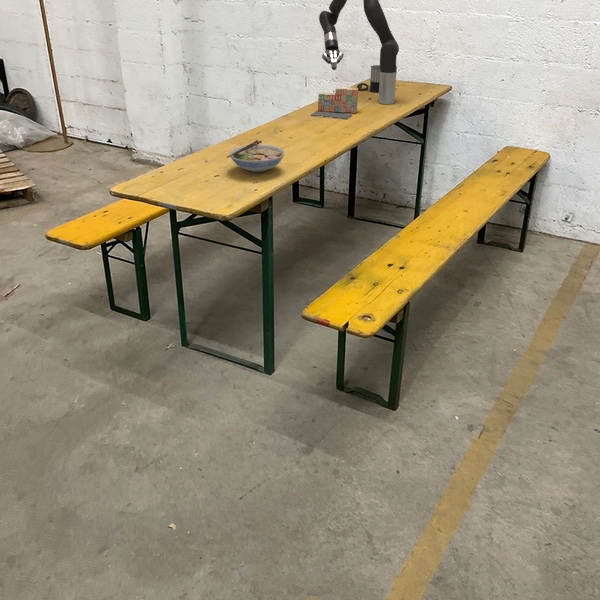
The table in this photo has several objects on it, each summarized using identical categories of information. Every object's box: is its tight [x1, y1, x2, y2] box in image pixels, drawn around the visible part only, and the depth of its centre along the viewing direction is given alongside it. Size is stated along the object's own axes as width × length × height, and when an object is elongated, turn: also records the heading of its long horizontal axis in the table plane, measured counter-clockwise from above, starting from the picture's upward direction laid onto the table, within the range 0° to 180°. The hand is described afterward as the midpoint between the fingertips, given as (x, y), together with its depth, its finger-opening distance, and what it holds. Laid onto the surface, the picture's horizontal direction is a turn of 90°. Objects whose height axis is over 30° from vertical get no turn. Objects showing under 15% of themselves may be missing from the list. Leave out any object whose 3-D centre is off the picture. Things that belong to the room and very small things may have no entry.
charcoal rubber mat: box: [310, 110, 354, 120], centre depth 335 cm, size 9×21×1 cm, turn 67°
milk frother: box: [356, 64, 380, 94], centre depth 387 cm, size 14×16×15 cm
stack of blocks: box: [317, 86, 359, 114], centre depth 340 cm, size 21×6×12 cm, turn 84°
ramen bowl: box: [226, 139, 286, 174], centre depth 256 cm, size 25×23×8 cm
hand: (334, 69), depth 351 cm, fingers closed
